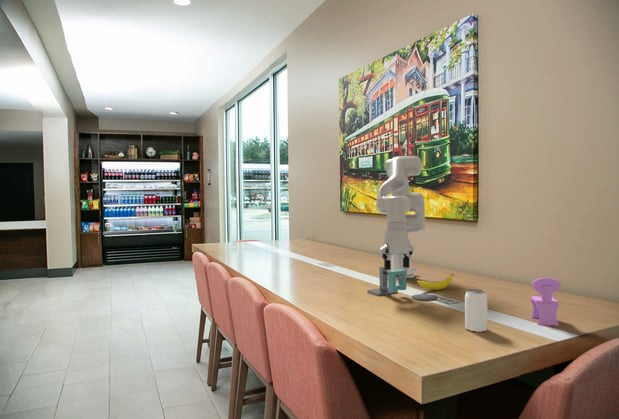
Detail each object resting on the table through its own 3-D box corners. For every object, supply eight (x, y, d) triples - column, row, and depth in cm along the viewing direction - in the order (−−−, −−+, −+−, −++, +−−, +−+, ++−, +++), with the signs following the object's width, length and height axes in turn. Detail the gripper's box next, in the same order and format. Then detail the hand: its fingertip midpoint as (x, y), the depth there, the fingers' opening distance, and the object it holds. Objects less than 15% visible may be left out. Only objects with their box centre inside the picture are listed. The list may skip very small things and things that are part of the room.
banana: (415, 291, 191) (414, 277, 191) (451, 287, 198) (451, 273, 197) (419, 293, 188) (418, 278, 188) (455, 288, 195) (455, 274, 195)
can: (461, 326, 141) (461, 289, 140) (481, 325, 141) (481, 288, 141) (470, 333, 134) (470, 293, 134) (491, 332, 135) (491, 292, 134)
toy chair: (554, 318, 148) (554, 273, 147) (563, 326, 139) (563, 278, 139) (527, 317, 150) (527, 273, 149) (534, 324, 141) (534, 278, 140)
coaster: (424, 294, 186) (424, 293, 186) (442, 298, 177) (442, 297, 177) (406, 297, 181) (406, 296, 181) (423, 302, 172) (423, 301, 172)
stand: (385, 289, 196) (385, 264, 196) (413, 297, 180) (413, 270, 180) (367, 292, 191) (366, 266, 191) (394, 300, 176) (393, 272, 175)
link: (401, 288, 184) (401, 269, 184) (406, 289, 182) (406, 270, 181) (388, 290, 181) (388, 270, 181) (393, 291, 178) (392, 272, 178)
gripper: (406, 225, 188) (407, 265, 188) (373, 227, 179) (374, 269, 180) (419, 226, 181) (419, 267, 181) (385, 228, 173) (385, 271, 173)
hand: (397, 268), depth 181 cm, fingers open, 9 cm apart
